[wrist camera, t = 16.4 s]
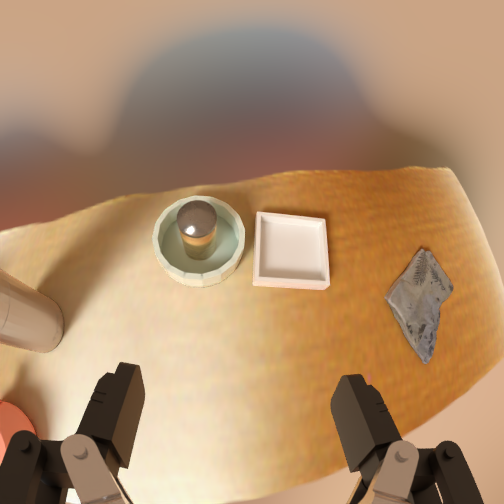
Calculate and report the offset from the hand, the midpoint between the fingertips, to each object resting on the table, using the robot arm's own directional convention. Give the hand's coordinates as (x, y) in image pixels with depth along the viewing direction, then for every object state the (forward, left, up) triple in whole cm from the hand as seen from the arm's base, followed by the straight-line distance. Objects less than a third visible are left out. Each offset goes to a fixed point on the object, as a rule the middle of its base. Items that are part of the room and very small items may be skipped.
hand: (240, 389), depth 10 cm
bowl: (-5, +19, -29) cm, 35 cm away
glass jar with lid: (-5, +19, -28) cm, 34 cm away
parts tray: (+9, +19, -29) cm, 35 cm away
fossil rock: (+35, +11, -29) cm, 47 cm away
